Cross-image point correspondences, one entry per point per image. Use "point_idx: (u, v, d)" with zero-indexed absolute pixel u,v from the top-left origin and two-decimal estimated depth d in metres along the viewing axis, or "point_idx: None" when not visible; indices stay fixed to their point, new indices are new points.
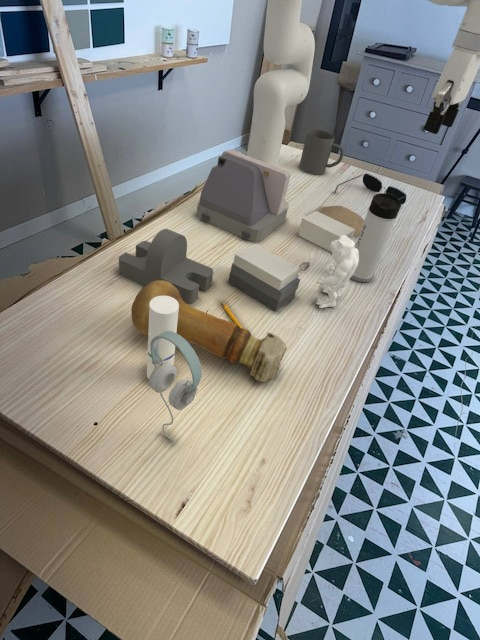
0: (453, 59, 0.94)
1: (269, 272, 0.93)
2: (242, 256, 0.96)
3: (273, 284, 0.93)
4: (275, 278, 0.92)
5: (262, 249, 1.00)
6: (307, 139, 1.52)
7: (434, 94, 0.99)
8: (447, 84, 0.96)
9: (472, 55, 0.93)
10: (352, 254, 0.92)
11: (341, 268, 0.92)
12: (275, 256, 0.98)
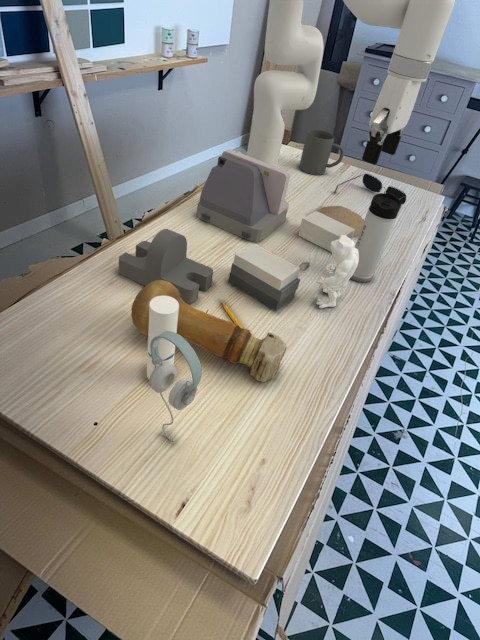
0: (388, 86, 0.87)
1: (269, 272, 0.93)
2: (242, 256, 0.96)
3: (273, 284, 0.93)
4: (275, 278, 0.92)
5: (262, 249, 1.00)
6: (307, 139, 1.52)
7: (371, 122, 0.91)
8: (383, 112, 0.88)
9: (407, 81, 0.85)
10: (352, 254, 0.92)
11: (341, 268, 0.92)
12: (275, 256, 0.98)
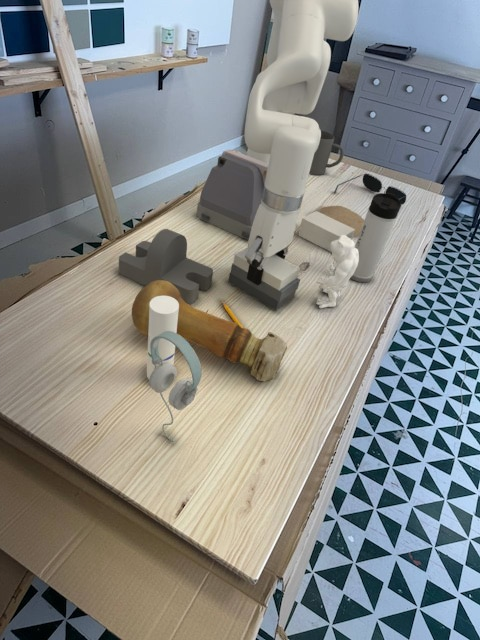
0: (259, 216, 0.87)
1: (269, 272, 0.93)
2: (242, 256, 0.96)
3: (273, 284, 0.93)
4: (275, 278, 0.92)
5: None
6: None
7: (248, 246, 0.91)
8: (256, 242, 0.89)
9: (276, 214, 0.85)
10: (352, 254, 0.92)
11: (341, 268, 0.92)
12: (275, 256, 0.98)
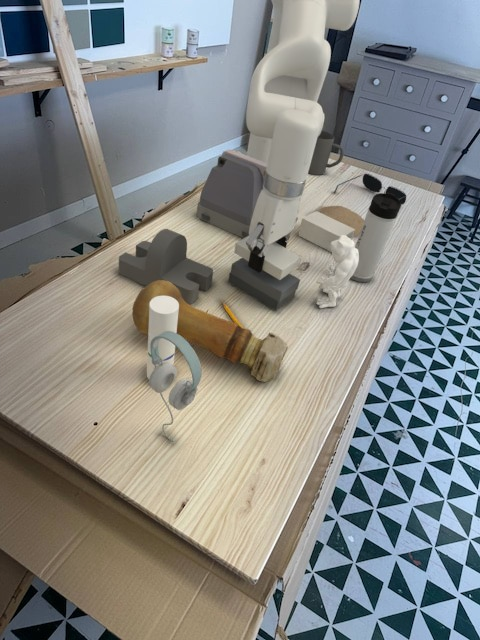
0: (260, 203, 0.85)
1: (270, 261, 0.92)
2: (243, 245, 0.95)
3: (274, 274, 0.93)
4: (276, 268, 0.92)
5: None
6: None
7: (249, 233, 0.90)
8: (257, 229, 0.87)
9: (278, 201, 0.84)
10: (352, 254, 0.92)
11: (341, 268, 0.92)
12: (276, 245, 0.97)
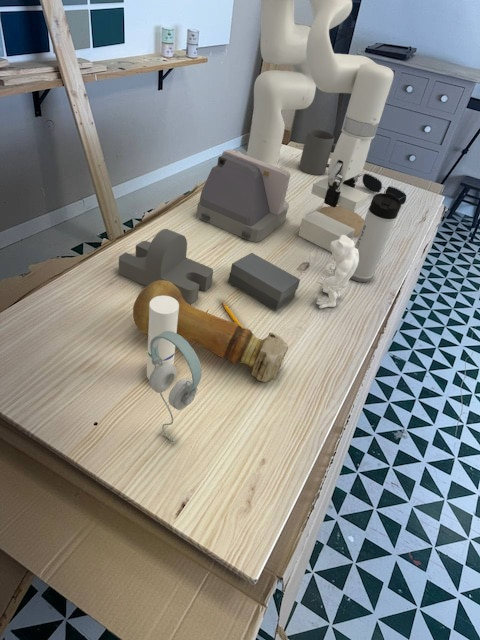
0: (341, 142, 1.03)
1: (345, 196, 1.10)
2: (320, 185, 1.13)
3: (348, 207, 1.10)
4: (350, 201, 1.09)
5: (335, 181, 1.16)
6: (307, 139, 1.52)
7: (328, 171, 1.07)
8: (337, 166, 1.05)
9: (356, 139, 1.01)
10: (352, 254, 0.92)
11: (341, 268, 0.92)
12: (347, 186, 1.15)
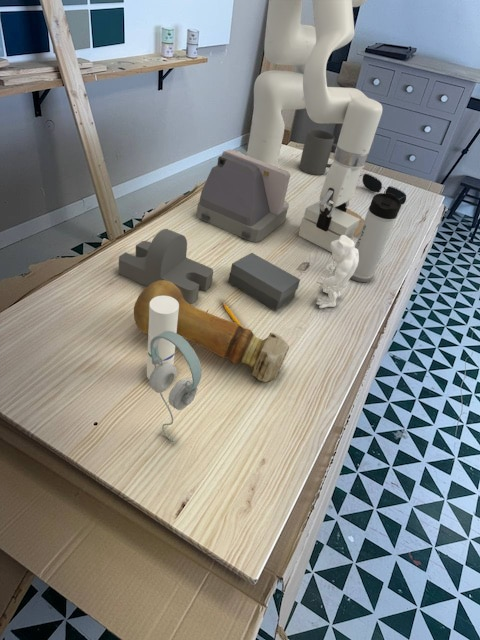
0: (332, 171, 1.07)
1: (336, 221, 1.14)
2: (312, 210, 1.17)
3: (339, 232, 1.14)
4: (341, 226, 1.13)
5: (327, 205, 1.20)
6: (307, 139, 1.52)
7: (320, 197, 1.12)
8: (328, 193, 1.09)
9: (347, 169, 1.06)
10: (352, 254, 0.92)
11: (341, 268, 0.92)
12: (338, 210, 1.19)
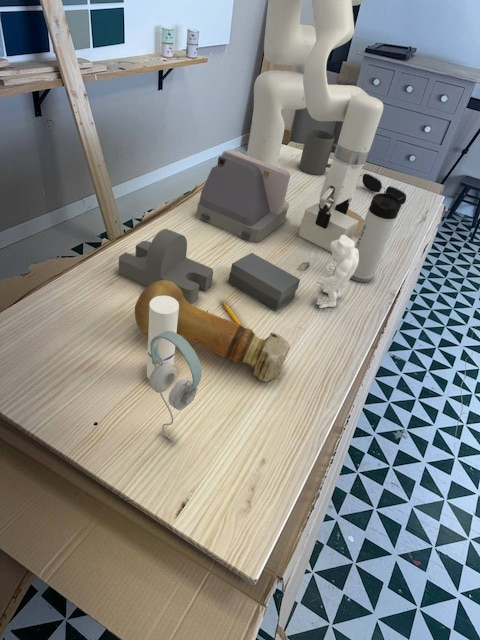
0: (332, 169, 1.07)
1: (335, 223, 1.14)
2: (311, 211, 1.17)
3: (338, 233, 1.15)
4: (340, 227, 1.14)
5: None
6: (307, 139, 1.52)
7: (321, 196, 1.12)
8: (329, 190, 1.09)
9: (347, 167, 1.05)
10: (352, 254, 0.92)
11: (341, 268, 0.92)
12: (337, 212, 1.19)
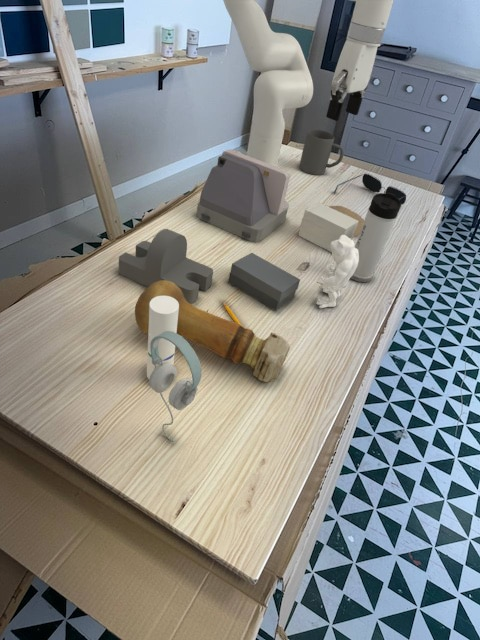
0: (345, 50, 1.01)
1: (335, 223, 1.14)
2: (311, 211, 1.17)
3: (338, 233, 1.15)
4: (340, 227, 1.14)
5: (326, 206, 1.21)
6: (307, 139, 1.52)
7: None
8: (342, 73, 1.02)
9: (362, 46, 0.99)
10: (352, 254, 0.92)
11: (341, 268, 0.92)
12: (337, 212, 1.19)
